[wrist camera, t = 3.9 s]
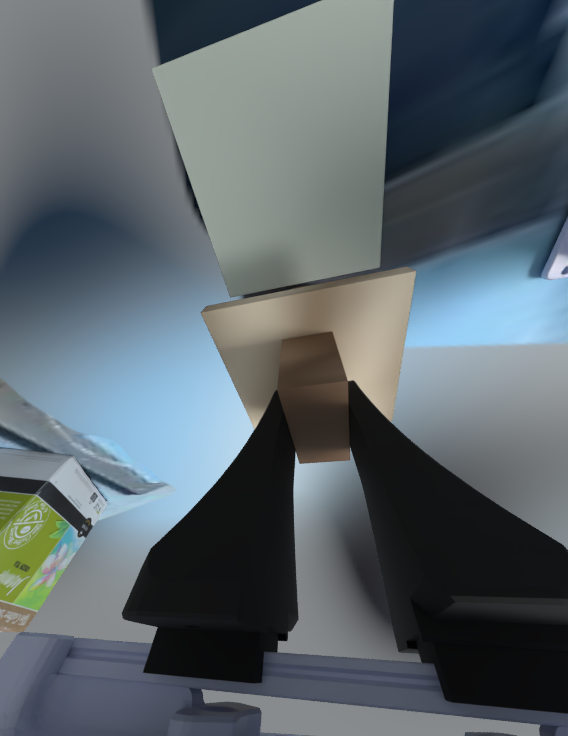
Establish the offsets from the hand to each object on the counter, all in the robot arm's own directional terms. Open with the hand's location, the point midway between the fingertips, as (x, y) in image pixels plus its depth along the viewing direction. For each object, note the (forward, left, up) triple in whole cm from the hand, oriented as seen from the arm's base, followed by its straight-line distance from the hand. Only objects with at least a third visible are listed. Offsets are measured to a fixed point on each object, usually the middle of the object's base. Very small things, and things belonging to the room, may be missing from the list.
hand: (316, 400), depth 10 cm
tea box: (+41, +18, -8) cm, 46 cm away
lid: (0, 0, -2) cm, 2 cm away
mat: (0, -9, -8) cm, 12 cm away
